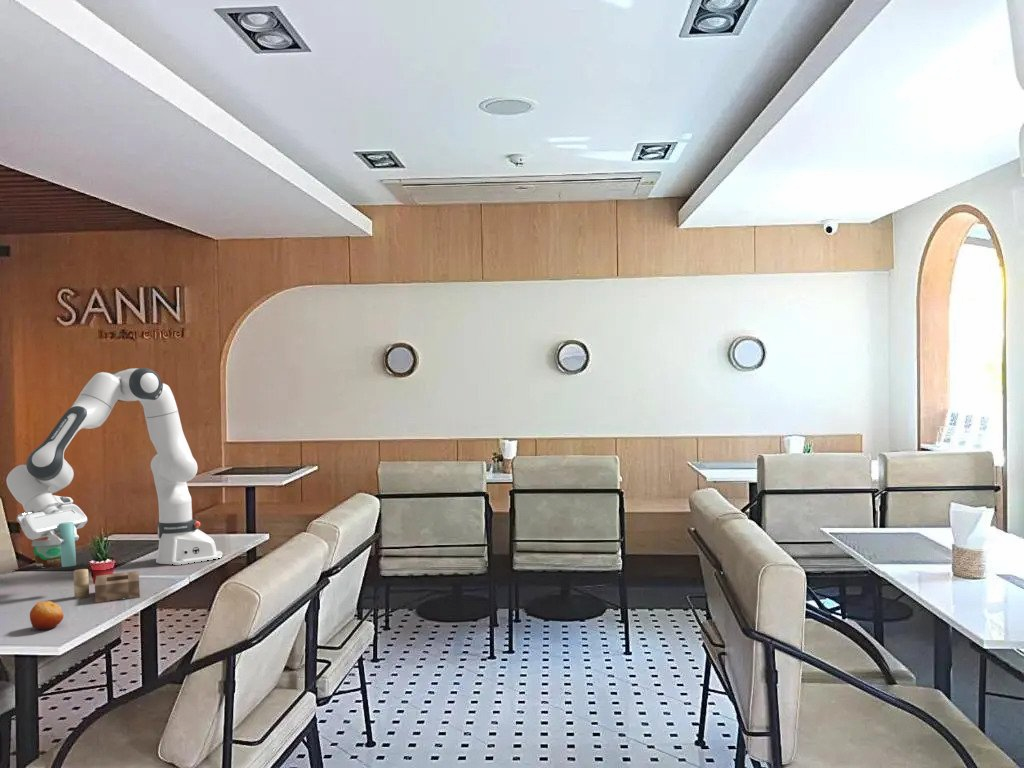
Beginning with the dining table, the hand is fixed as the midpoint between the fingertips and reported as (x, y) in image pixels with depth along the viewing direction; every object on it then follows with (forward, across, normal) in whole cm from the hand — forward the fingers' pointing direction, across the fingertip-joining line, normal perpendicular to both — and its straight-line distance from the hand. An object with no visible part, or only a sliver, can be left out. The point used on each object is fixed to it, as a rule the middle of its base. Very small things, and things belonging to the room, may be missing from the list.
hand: (69, 541), depth 270 cm
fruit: (+29, -30, -6) cm, 42 cm away
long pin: (+5, 0, +6) cm, 7 cm away
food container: (-16, +28, +39) cm, 51 cm away
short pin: (+16, -3, +6) cm, 18 cm away
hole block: (+23, +2, 0) cm, 23 cm away
